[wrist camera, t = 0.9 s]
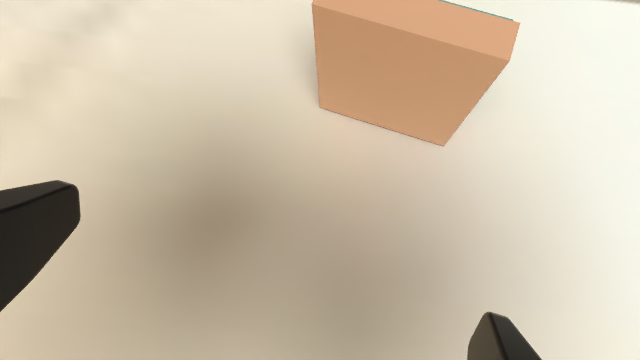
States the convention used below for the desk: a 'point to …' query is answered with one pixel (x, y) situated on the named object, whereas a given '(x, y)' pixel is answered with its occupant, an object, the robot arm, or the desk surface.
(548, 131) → the desk surface
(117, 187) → the desk surface
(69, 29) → the desk surface
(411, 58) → the glazed tile
